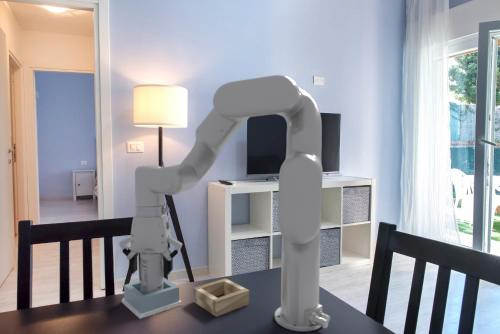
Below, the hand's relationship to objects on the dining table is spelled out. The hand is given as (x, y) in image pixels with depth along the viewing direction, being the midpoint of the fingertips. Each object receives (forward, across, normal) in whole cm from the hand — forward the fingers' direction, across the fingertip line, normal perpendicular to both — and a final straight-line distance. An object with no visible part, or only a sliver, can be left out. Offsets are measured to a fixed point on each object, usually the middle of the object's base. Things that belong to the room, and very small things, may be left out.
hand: (151, 272), depth 98 cm
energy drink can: (+8, 0, 0) cm, 8 cm away
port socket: (+9, 0, 0) cm, 9 cm away
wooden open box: (+9, -19, -2) cm, 21 cm away
